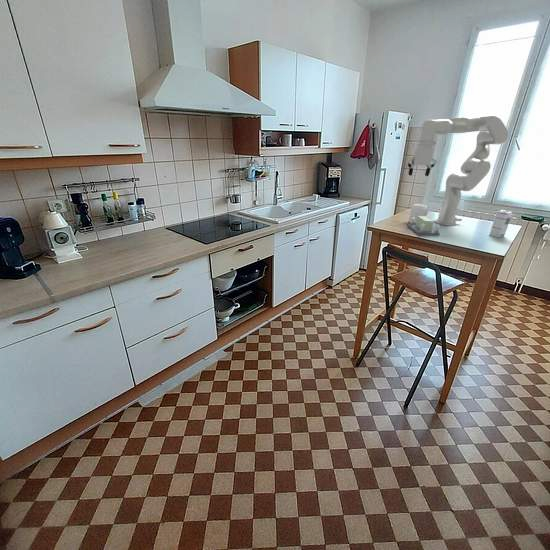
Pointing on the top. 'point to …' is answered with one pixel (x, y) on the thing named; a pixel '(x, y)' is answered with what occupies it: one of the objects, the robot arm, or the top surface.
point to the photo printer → (418, 211)
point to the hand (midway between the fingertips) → (418, 175)
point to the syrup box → (500, 223)
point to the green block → (426, 221)
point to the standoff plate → (420, 231)
